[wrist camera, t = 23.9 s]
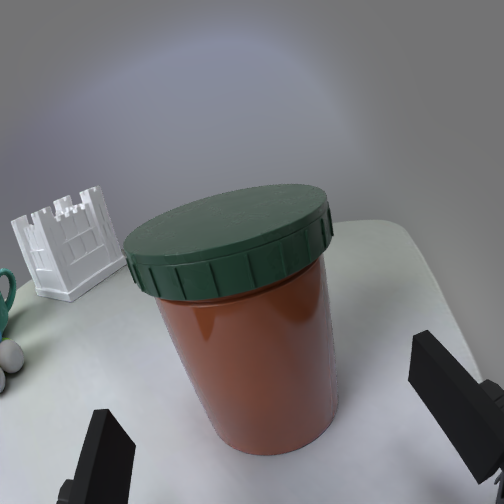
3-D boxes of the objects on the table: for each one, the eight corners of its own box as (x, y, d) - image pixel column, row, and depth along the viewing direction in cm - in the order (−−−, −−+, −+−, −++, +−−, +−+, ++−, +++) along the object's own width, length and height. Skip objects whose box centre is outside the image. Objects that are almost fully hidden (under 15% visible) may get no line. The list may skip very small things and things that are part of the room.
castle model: (71, 302, 44) (36, 212, 38) (37, 295, 50) (8, 222, 45) (128, 262, 55) (102, 184, 50) (87, 263, 62) (64, 196, 56)
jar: (318, 349, 24) (293, 192, 20) (356, 432, 16) (347, 233, 12) (210, 375, 24) (156, 226, 20) (213, 466, 16) (118, 289, 11)
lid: (368, 261, 11) (364, 212, 11) (110, 322, 11) (90, 278, 11) (304, 204, 21) (298, 175, 20) (155, 240, 21) (147, 213, 20)
